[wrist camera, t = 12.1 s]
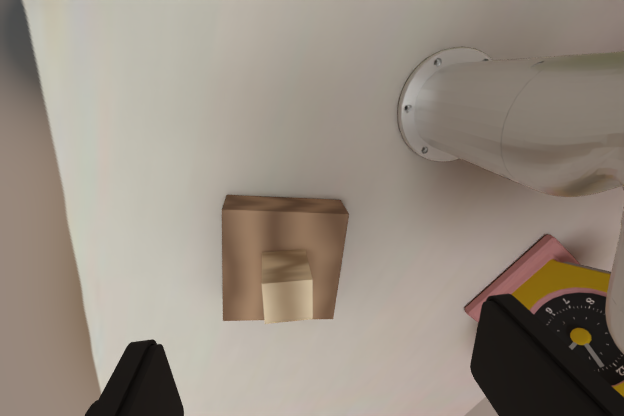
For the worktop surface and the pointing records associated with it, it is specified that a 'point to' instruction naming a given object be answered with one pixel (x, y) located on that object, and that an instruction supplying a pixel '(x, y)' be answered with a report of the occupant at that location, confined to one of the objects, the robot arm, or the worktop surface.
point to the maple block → (286, 286)
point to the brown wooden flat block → (279, 248)
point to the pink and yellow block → (563, 304)
